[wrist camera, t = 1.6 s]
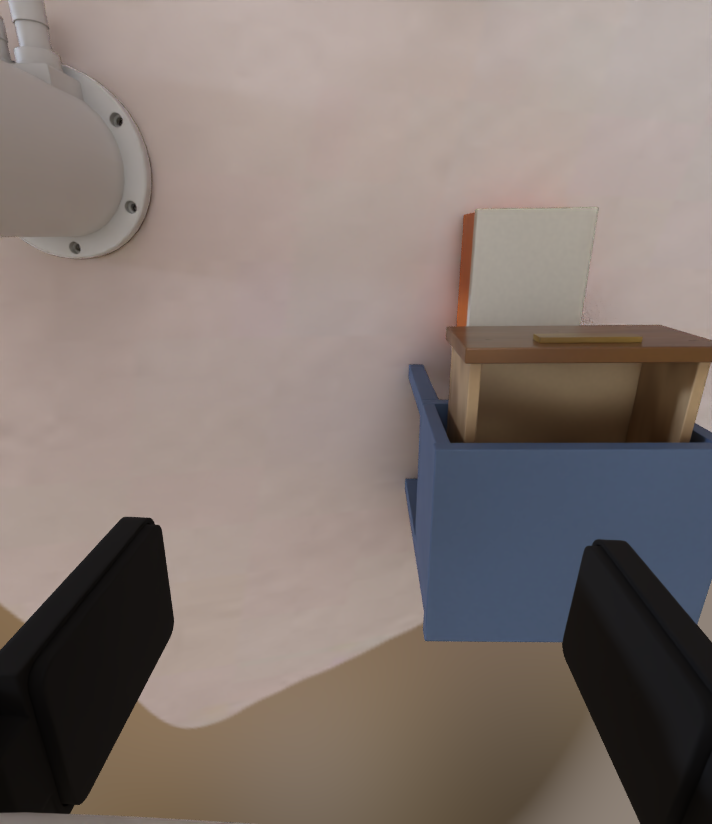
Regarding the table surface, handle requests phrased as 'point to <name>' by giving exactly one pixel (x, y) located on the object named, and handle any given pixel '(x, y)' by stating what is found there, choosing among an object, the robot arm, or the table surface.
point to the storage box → (525, 266)
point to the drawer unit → (547, 524)
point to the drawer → (575, 384)
